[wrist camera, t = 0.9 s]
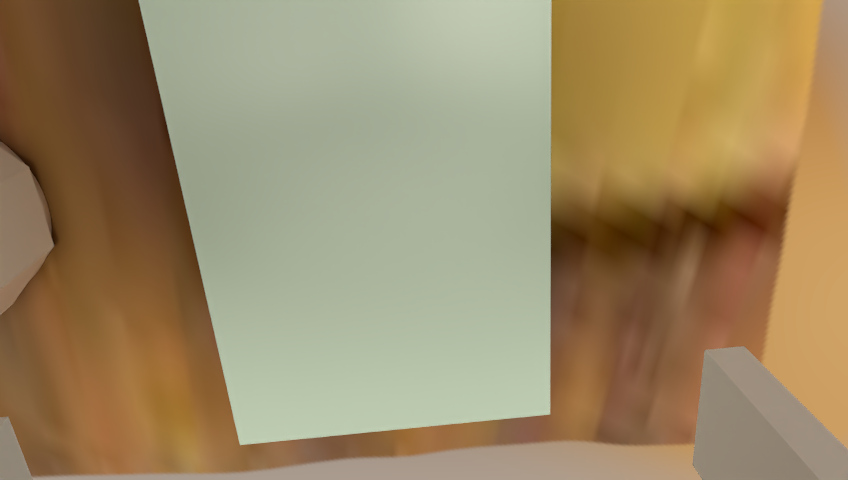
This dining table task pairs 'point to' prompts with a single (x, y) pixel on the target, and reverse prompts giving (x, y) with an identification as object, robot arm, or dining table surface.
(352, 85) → the cover board
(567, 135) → the dining table surface
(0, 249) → the bowl
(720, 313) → the dining table surface
